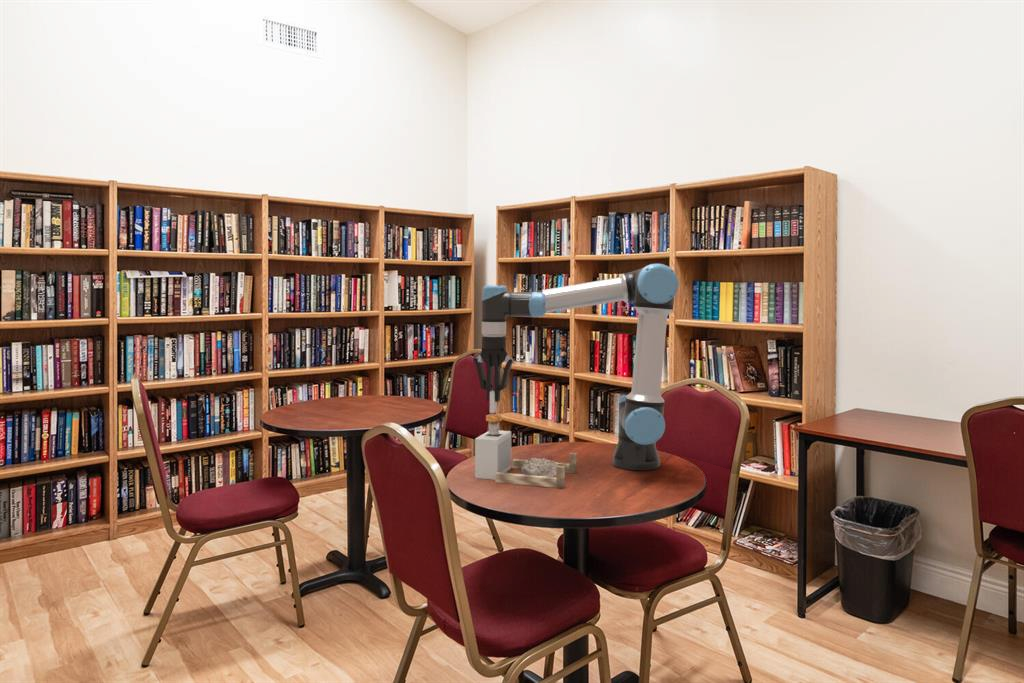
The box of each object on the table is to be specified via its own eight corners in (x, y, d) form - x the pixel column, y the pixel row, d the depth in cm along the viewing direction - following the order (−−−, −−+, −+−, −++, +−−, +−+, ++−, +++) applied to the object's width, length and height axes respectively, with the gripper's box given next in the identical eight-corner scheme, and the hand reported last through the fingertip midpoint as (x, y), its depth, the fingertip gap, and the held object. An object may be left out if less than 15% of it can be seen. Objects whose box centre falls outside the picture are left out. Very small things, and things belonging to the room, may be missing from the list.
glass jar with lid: (503, 441, 206) (503, 414, 206) (498, 445, 202) (498, 417, 201) (488, 440, 208) (488, 413, 207) (483, 443, 203) (483, 416, 203)
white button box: (511, 468, 211) (511, 431, 210) (497, 479, 198) (497, 440, 197) (490, 466, 213) (490, 429, 212) (475, 477, 200) (475, 438, 199)
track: (576, 471, 207) (576, 452, 207) (563, 488, 189) (563, 467, 189) (514, 466, 213) (514, 448, 213) (495, 482, 195) (495, 462, 195)
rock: (540, 472, 208) (540, 453, 208) (563, 479, 199) (563, 460, 199) (512, 477, 201) (512, 458, 201) (535, 485, 192) (535, 465, 192)
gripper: (517, 335, 204) (516, 411, 206) (478, 334, 208) (477, 408, 210) (510, 337, 197) (509, 415, 199) (469, 335, 201) (469, 412, 202)
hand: (493, 411), depth 204 cm, fingers closed
